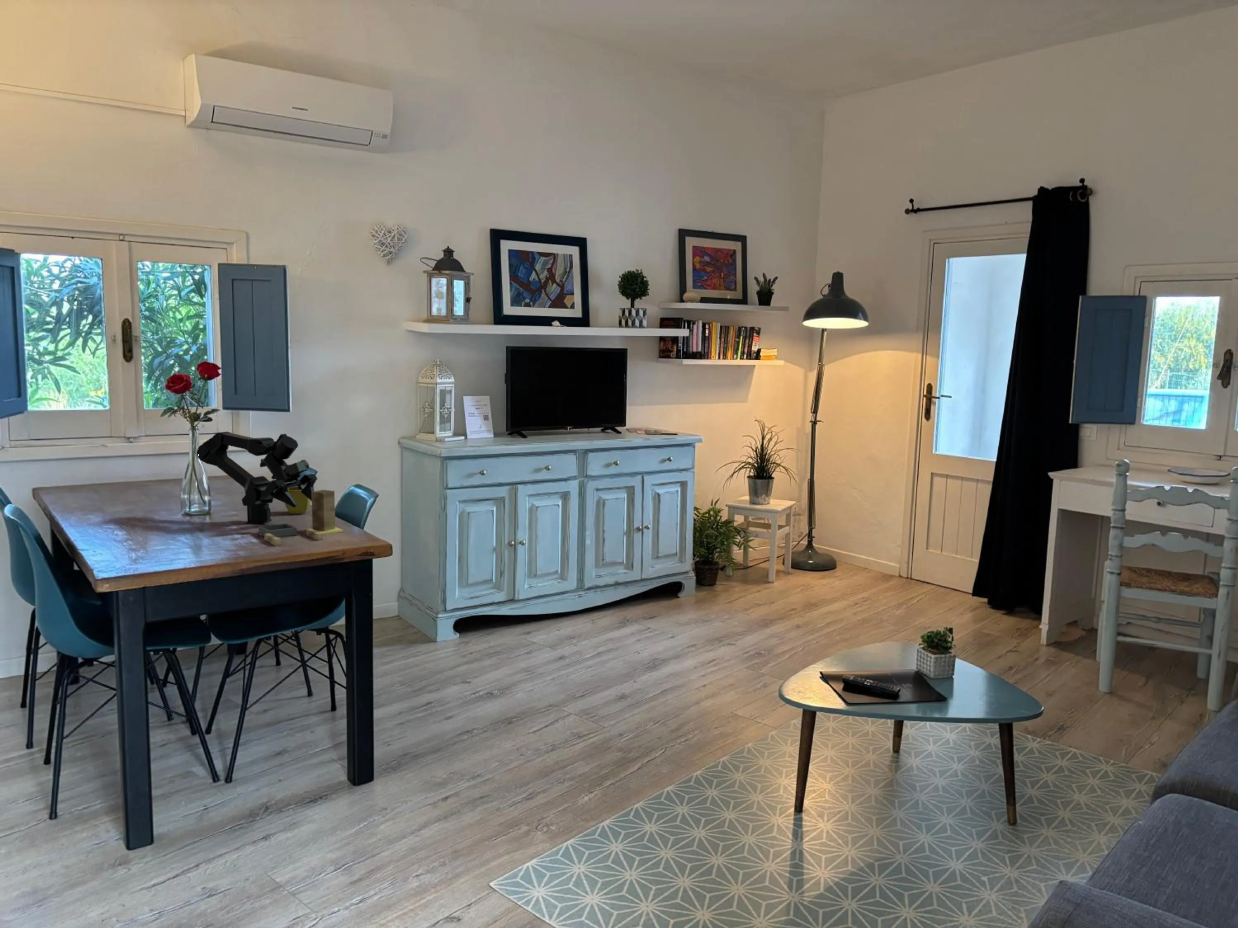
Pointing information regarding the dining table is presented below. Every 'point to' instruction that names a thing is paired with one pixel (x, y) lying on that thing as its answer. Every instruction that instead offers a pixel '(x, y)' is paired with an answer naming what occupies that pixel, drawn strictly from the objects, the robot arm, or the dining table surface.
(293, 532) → the charcoal tray
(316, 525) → the walnut block
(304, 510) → the flower pot
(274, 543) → the brown lane walls
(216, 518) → the dining table surface
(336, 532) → the pad
